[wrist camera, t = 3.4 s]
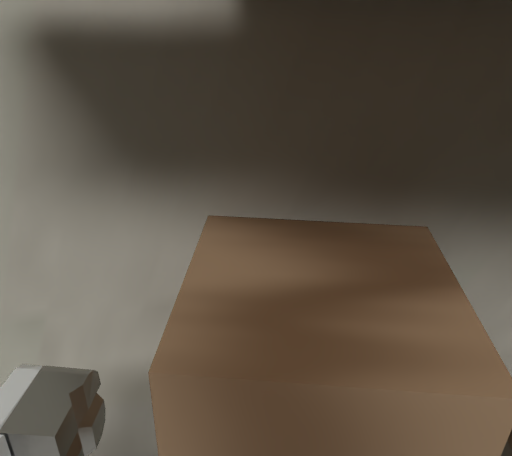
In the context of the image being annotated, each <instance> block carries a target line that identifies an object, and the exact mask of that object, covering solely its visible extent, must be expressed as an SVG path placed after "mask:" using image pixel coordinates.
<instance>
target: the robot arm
mask: <svg viewBox="0 0 512 456" xmlns="http://www.w3.org/2000/svg"><path fill="white" fill-rule="evenodd" d="M100 385H101V383H100V378H99V374H98V372H97V371H95V370H88V369H77V368H66V367H55V366H39V365H29V364H22V365H20V366H18V367H17V368H15V369H14V370H13V372H12V373H11V374H10V376H9V377H8V378H7V380H6V381H5V382H4V384H3V385H2V386H1V388H0V456H88V455H89V454H90V453H92V452H93V451H94V450H95V449H96V448H97V446H98V444H99V441H100V439H101V436H102V432H103V428H104V423H105V404H104V400H103V399H102V398H101V397H100V396H99V395H98V394H97V391H98V389H99V387H100ZM501 456H512V430H511V432H510V435H509V437H508V439H507V442H506V444H505V447H504V449H503V452H502V454H501Z"/></svg>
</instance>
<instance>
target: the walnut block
mask: <svg viewBox="0 0 512 456" xmlns="http://www.w3.org/2000/svg"><path fill="white" fill-rule="evenodd" d="M148 374H149V382H150V390H151V398H152V406H153V415H154V423H155V431H156V439H157V447H158V455H159V456H501V454H502V452H503V449H504V447H505V444H506V442H507V439H508V437H509V435H510V432H511V430H512V377H511V376H510V374H509V372H508V370H507V368H506V367H505V365H504V363H503V361H502V359H501V358H500V356H499V354H498V352H497V351H496V349H495V347H494V345H493V343H492V342H491V340H490V338H489V336H488V334H487V333H486V331H485V329H484V327H483V325H482V324H481V322H480V320H479V318H478V317H477V315H476V313H475V311H474V309H473V308H472V306H471V304H470V302H469V300H468V299H467V297H466V295H465V293H464V292H463V290H462V288H461V286H460V284H459V283H458V281H457V279H456V277H455V275H454V274H453V272H452V270H451V268H450V266H449V265H448V263H447V261H446V259H445V258H444V256H443V254H442V252H441V250H440V249H439V247H438V245H437V243H436V241H435V240H434V238H433V236H432V234H431V233H430V231H429V229H428V227H421V226H402V225H382V224H363V223H344V222H324V221H305V220H285V219H266V218H247V217H227V216H208V218H207V221H206V223H205V226H204V228H203V231H202V234H201V236H200V239H199V241H198V244H197V247H196V249H195V252H194V255H193V257H192V260H191V262H190V265H189V268H188V270H187V273H186V276H185V278H184V281H183V283H182V286H181V289H180V291H179V294H178V296H177V299H176V302H175V304H174V307H173V310H172V312H171V315H170V317H169V320H168V323H167V325H166V328H165V331H164V333H163V336H162V338H161V341H160V344H159V346H158V349H157V351H156V354H155V357H154V359H153V362H152V365H151V367H150V370H149V372H148Z"/></svg>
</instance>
